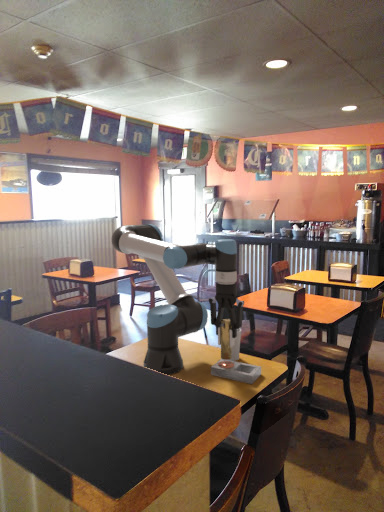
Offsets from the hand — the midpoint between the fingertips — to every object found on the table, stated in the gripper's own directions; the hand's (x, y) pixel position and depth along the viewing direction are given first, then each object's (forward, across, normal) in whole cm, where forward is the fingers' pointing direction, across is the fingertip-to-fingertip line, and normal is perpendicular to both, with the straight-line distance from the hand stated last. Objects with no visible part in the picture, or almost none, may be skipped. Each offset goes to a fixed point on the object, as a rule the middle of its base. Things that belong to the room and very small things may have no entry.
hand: (226, 344), depth 144 cm
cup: (+11, -4, +14) cm, 18 cm away
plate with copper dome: (+11, +4, 0) cm, 11 cm away
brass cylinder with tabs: (+5, 0, 0) cm, 5 cm away
